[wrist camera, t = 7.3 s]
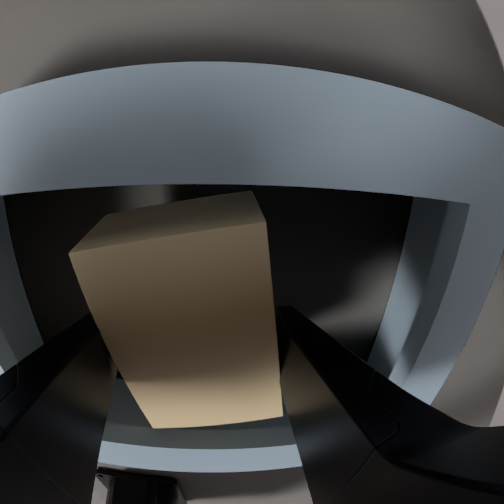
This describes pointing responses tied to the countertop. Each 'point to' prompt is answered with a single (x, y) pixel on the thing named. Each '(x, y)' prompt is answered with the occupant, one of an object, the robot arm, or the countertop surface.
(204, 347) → the block
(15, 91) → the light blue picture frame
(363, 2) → the countertop surface
